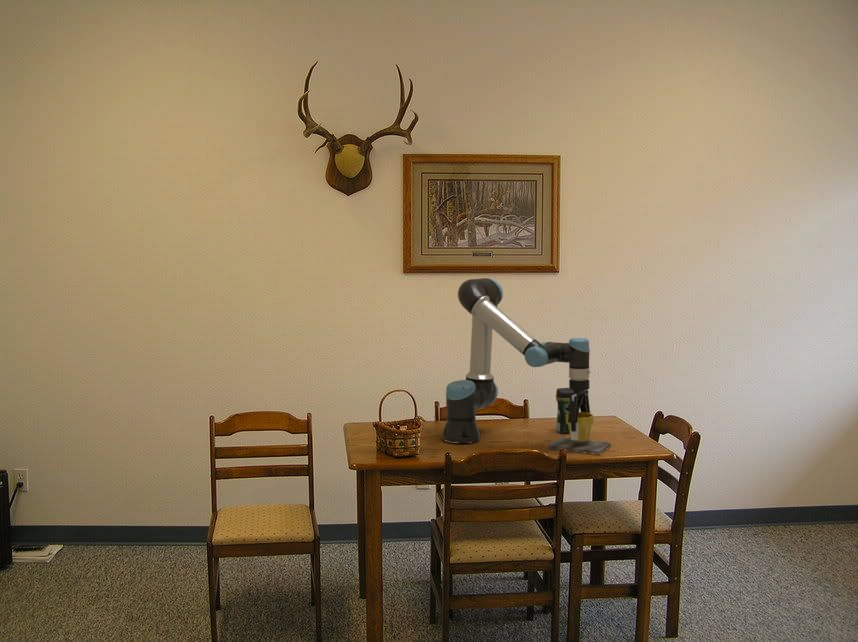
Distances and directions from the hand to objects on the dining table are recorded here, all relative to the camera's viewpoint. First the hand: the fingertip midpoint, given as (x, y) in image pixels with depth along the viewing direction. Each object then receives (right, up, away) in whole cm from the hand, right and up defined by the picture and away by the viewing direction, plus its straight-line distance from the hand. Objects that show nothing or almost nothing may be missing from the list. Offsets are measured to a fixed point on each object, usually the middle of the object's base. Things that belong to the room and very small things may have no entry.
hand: (579, 436), depth 274 cm
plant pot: (0, -2, 0) cm, 1 cm away
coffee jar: (+1, -2, +26) cm, 26 cm away
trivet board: (0, -4, 0) cm, 4 cm away
